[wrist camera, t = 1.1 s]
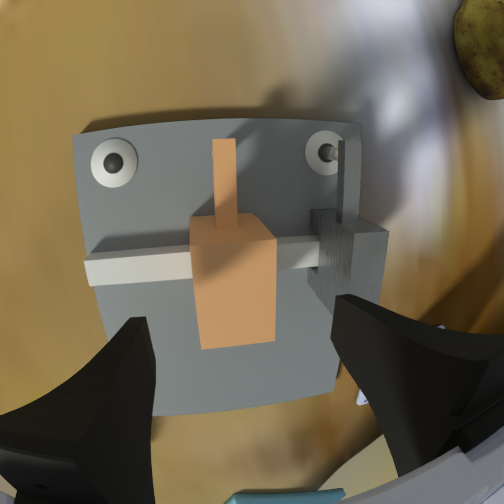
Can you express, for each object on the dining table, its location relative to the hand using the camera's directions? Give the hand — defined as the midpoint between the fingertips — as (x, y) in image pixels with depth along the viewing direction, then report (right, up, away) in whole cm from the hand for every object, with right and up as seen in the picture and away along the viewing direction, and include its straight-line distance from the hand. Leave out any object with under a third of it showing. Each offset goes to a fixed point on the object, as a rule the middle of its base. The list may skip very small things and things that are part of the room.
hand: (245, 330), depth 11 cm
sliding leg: (-2, +5, +7) cm, 8 cm away
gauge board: (-1, 0, +10) cm, 10 cm away
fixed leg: (+5, +5, +8) cm, 11 cm away
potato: (+20, +23, +6) cm, 31 cm away
